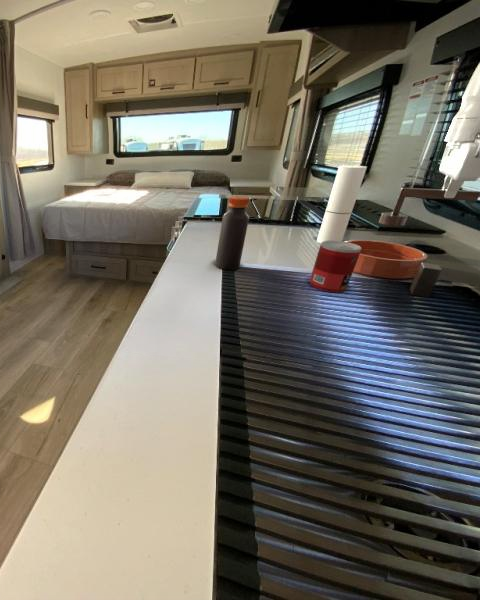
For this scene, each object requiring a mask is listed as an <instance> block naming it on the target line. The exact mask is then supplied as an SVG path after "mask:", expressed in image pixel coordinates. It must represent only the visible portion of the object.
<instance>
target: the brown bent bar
mask: <svg viewBox="0 0 480 600" xmlns="http://www.w3.org/2000/svg"><path fill="white" fill-rule="evenodd" d="M444 193H445V190H443V188H442V189H440V188H420V187H419V188H417V187H401V189H400V191H399V194H398V197H397V199H396V202H395V204H394V206H393V209H392V212H389V211H388V212H387V211H386V212H381V215H380V217H379V220H378V223H379V224H380V225H385V226H392V227H393V226H394V227H402V226H405V225H406V222H407V220H408V217H409V215H408V214H406V213H401V209H402V207H403V204H404V202H405V199H406V198H412V199H413V198H415V199H417V198H418V199H433V200H435V199H436V200H448V201H450V200H451V201H467V202H477V201H478V199H479V197H480V190H460V189H459V190H458V191H457V194H456V196H455V197H454V198H445V197H444V196H443V195H444Z"/></svg>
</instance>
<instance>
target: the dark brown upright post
mask: <svg viewBox="0 0 480 600" xmlns="http://www.w3.org/2000/svg"><path fill="white" fill-rule="evenodd" d="M441 273H442V268H441V266H440V265H439V264H435V263H427V262H425V263H421V265H420V267H419V270H418V272H417V274H416V276H415V277H413V278H414V279H413V281H412V283H411V285H410V286H409V291H410V294H411V295H412V296H418V297H424V298H430V295H431V293H432V291H433V289H434V287H435V285H436V283H437V281H438V279H439V278H440V275H441Z"/></svg>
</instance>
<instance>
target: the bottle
mask: <svg viewBox="0 0 480 600" xmlns="http://www.w3.org/2000/svg"><path fill="white" fill-rule="evenodd" d="M249 201H250V198H249V197H247V196H230V197H229V199H228V206H227V208H228V211H227V212H225V213H224V214H223V215H222V220H221V224H220V225H221V226H220V231H219V232H220V233H219V238H218V245H217V249H216V255H215V256H216V257H215V262H214V265H215V267H216V268H218V269H219V270H224V271H235V270H238V269H239V268H240V266H241V262H242V261H241V260H242V255H243V250H244V245H245V241H246V236H247V230H248V225H249V220H250V216H249V215H248V213H247V212H246V210H247V209H248V207H249V206H248V205H249Z"/></svg>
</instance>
